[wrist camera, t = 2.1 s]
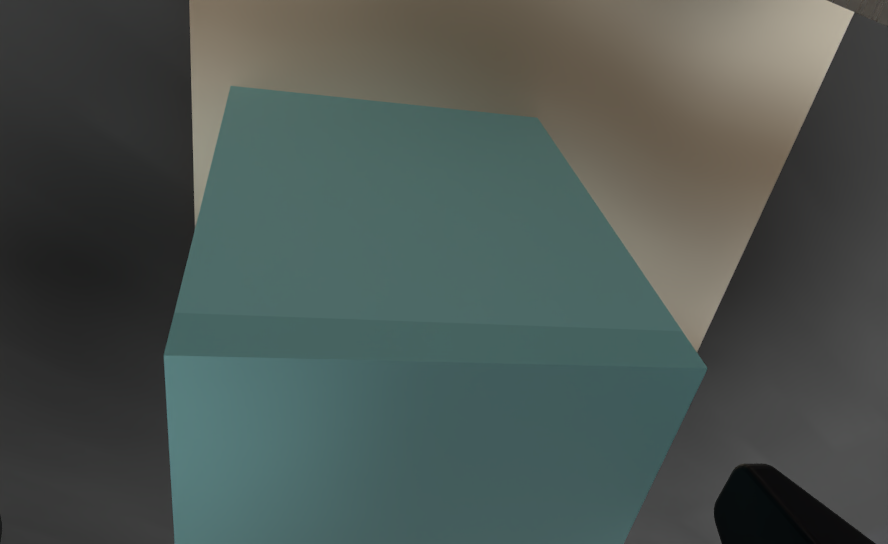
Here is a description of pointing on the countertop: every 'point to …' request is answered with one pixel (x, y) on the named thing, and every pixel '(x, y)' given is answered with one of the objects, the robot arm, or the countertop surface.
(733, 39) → the board
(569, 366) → the teal rectangular block
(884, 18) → the post
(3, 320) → the countertop surface
